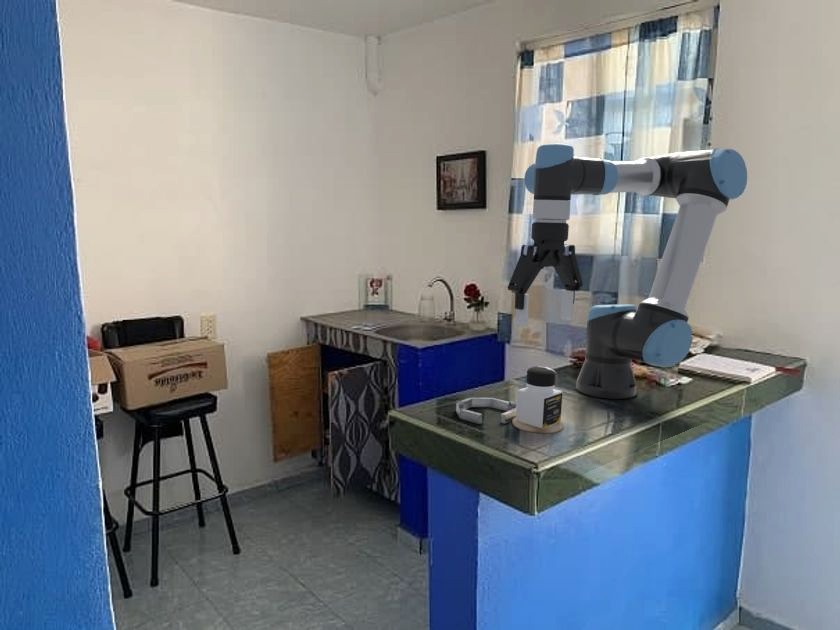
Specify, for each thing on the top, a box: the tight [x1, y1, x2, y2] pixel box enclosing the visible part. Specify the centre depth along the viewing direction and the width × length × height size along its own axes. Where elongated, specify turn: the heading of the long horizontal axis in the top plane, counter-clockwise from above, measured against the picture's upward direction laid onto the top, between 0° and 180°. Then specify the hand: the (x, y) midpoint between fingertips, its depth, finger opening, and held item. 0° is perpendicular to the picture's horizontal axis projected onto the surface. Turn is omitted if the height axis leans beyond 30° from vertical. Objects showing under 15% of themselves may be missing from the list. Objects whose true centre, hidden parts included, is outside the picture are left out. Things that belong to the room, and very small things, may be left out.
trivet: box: [511, 417, 565, 434], centre depth 136 cm, size 11×11×1 cm
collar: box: [455, 397, 517, 425], centre depth 141 cm, size 13×13×3 cm
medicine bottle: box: [516, 366, 563, 429], centre depth 135 cm, size 7×7×12 cm
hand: (544, 322), depth 132 cm, fingers open, 13 cm apart
